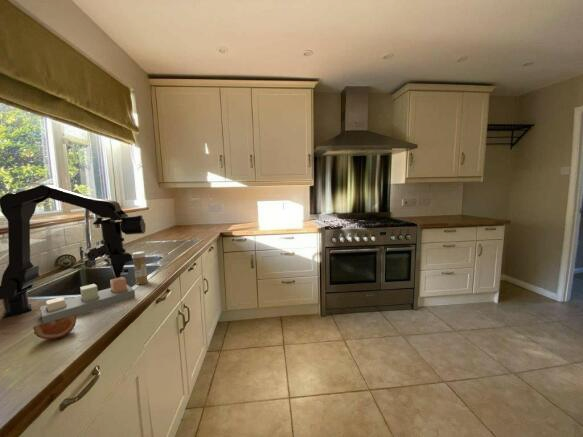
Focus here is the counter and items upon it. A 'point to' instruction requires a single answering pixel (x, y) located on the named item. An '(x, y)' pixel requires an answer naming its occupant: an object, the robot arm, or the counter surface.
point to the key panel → (86, 304)
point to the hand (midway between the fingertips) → (117, 277)
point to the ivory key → (55, 304)
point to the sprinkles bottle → (140, 267)
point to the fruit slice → (56, 328)
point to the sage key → (89, 292)
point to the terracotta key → (118, 284)
